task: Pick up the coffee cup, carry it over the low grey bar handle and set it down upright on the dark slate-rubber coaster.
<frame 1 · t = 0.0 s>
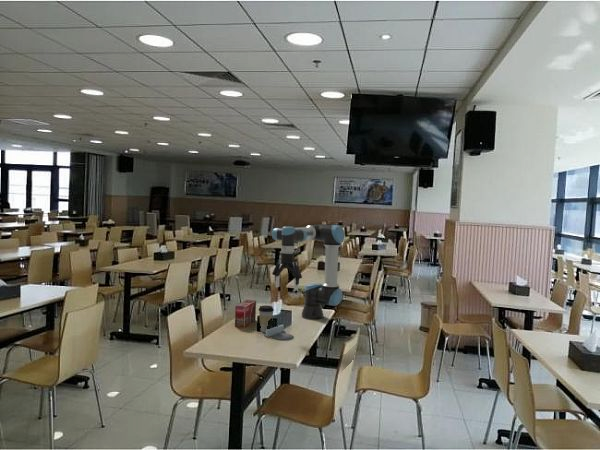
hand: (286, 288, 277), 28 cm above the table, fingers open, 13 cm apart
coaster: (283, 337, 274), on the table
coffee cup: (265, 331, 286), on the table
grey bar handle: (274, 334, 281), on the table
ice cream box: (245, 323, 303), on the table
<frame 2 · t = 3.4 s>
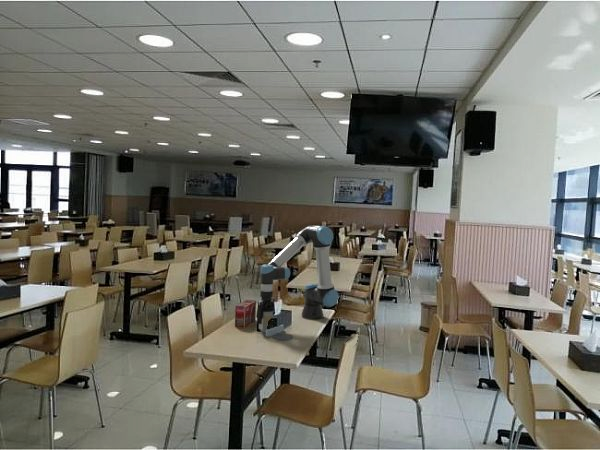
hand: (265, 327, 286), 2 cm above the table, fingers closed on coffee cup, 8 cm apart
coffee cup: (265, 331, 286), on the table, touching gripper
everything else where it was.
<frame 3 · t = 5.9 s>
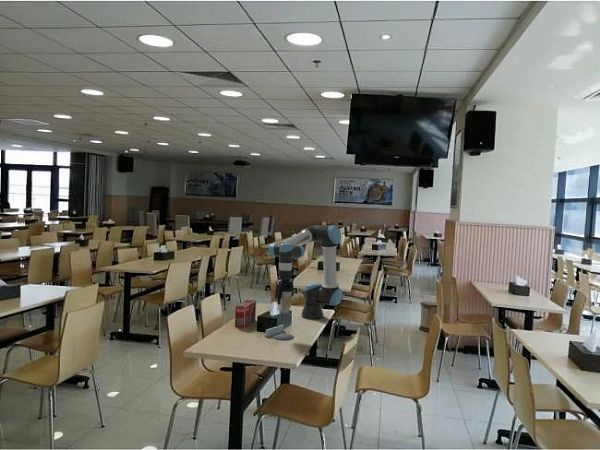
hand: (284, 308, 274), 17 cm above the table, fingers closed on coffee cup, 8 cm apart
coffee cup: (284, 312, 274), point 15 cm above the table, touching gripper
everything else where it was.
when the fingers open (4 cm above the table, at t = 8.7 s): coffee cup stays where it is, resting on coaster.
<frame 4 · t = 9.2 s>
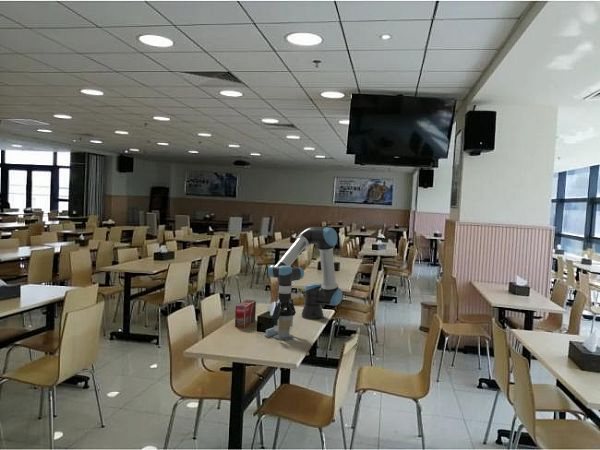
hand: (283, 328, 274), 5 cm above the table, fingers open, 13 cm apart
coffee cup: (283, 336, 275), resting on coaster
everything else where it was.
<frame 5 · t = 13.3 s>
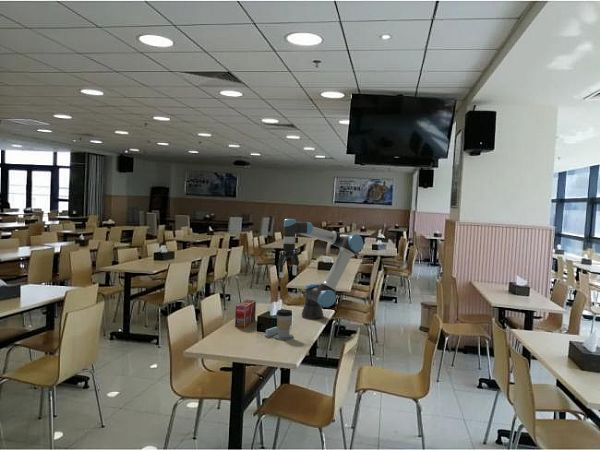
hand: (288, 276, 300), 32 cm above the table, fingers open, 13 cm apart
nothing on the table moved.
at the end: coffee cup inside the target area on the coaster (0.1 cm from its centre), point 0.4 cm above the coaster's base; coffee cup tilted 0°; coffee cup touching coaster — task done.
